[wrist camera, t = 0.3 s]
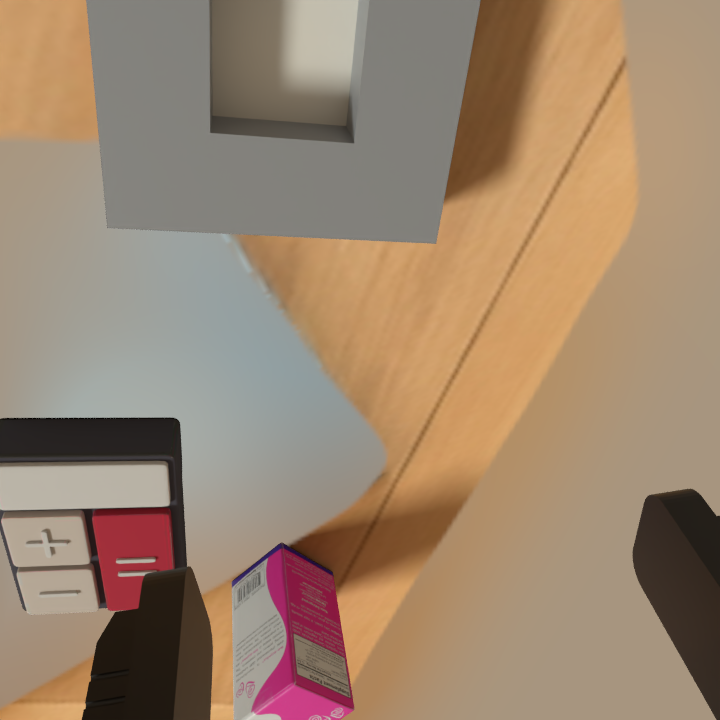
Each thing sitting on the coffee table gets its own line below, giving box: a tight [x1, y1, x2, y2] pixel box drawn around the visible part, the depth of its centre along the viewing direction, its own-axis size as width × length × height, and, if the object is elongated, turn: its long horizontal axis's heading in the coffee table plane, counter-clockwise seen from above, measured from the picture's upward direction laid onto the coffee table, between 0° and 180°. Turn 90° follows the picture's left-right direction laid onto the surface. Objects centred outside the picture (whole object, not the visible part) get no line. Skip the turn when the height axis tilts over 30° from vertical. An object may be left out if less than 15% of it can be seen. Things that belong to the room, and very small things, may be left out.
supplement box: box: [232, 543, 354, 720], centre depth 49 cm, size 6×6×12 cm
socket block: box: [86, 0, 481, 244], centre depth 31 cm, size 16×16×4 cm
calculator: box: [0, 417, 187, 615], centre depth 46 cm, size 11×4×15 cm
